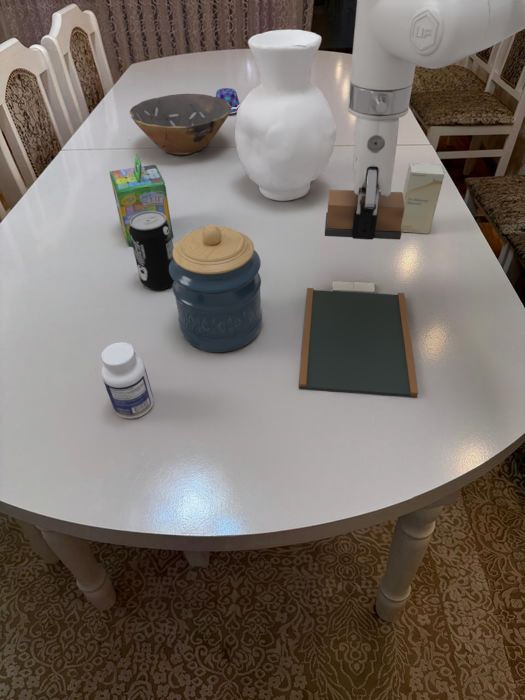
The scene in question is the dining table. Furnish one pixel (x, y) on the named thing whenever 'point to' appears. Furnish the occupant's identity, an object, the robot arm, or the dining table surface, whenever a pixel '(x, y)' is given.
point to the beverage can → (152, 248)
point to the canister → (217, 288)
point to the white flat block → (364, 287)
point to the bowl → (181, 121)
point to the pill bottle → (126, 380)
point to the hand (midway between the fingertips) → (362, 226)
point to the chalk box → (139, 193)
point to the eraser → (346, 204)
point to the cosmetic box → (421, 196)
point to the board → (357, 344)
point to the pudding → (229, 97)
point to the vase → (284, 117)
